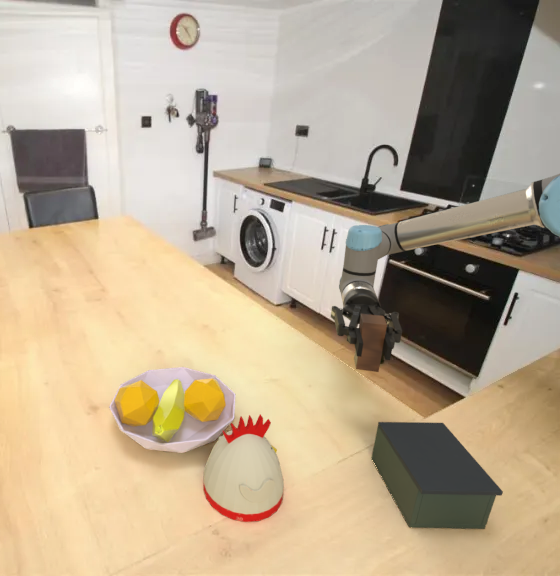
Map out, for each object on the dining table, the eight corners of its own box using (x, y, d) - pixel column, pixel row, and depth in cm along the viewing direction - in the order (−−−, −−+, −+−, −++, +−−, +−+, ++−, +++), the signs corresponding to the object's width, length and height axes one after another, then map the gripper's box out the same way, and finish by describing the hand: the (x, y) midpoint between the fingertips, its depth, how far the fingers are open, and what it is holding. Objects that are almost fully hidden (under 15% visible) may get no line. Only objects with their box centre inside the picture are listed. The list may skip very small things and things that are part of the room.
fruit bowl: (150, 378, 105) (149, 338, 101) (252, 407, 93) (255, 363, 89) (79, 447, 82) (73, 400, 78) (202, 497, 70) (203, 444, 66)
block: (375, 361, 81) (383, 315, 78) (378, 372, 78) (387, 324, 74) (353, 359, 82) (360, 313, 79) (355, 369, 79) (363, 322, 75)
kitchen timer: (297, 513, 67) (305, 439, 62) (216, 529, 64) (218, 454, 59) (263, 453, 80) (268, 387, 75) (195, 464, 77) (195, 397, 72)
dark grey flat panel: (501, 495, 60) (503, 491, 60) (421, 494, 61) (422, 490, 61) (442, 426, 75) (443, 422, 74) (377, 425, 75) (378, 421, 75)
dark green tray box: (485, 529, 64) (498, 491, 61) (409, 527, 64) (418, 489, 62) (433, 459, 77) (442, 426, 75) (371, 459, 78) (377, 425, 75)
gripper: (398, 322, 93) (424, 376, 72) (319, 314, 98) (321, 363, 77) (404, 291, 90) (432, 338, 69) (322, 284, 95) (326, 327, 74)
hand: (374, 351), depth 73 cm, fingers closed on block, 4 cm apart
